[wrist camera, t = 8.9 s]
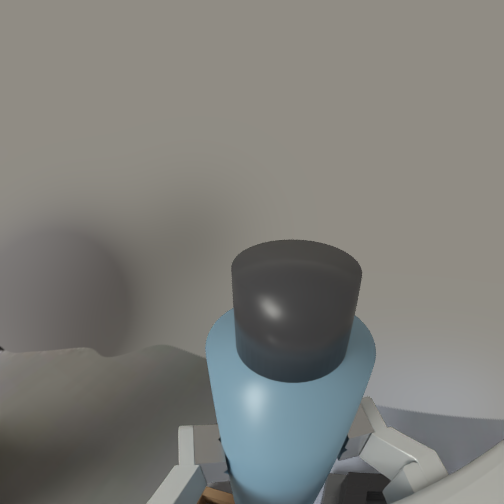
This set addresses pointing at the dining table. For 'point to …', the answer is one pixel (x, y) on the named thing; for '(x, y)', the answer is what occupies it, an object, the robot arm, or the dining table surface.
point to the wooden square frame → (215, 497)
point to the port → (355, 488)
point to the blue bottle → (288, 368)
